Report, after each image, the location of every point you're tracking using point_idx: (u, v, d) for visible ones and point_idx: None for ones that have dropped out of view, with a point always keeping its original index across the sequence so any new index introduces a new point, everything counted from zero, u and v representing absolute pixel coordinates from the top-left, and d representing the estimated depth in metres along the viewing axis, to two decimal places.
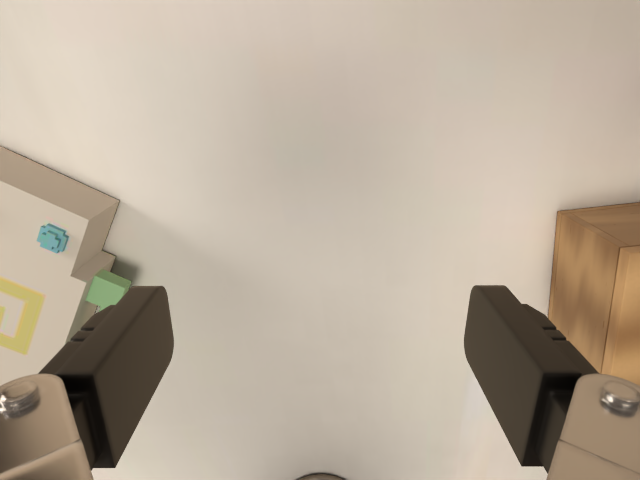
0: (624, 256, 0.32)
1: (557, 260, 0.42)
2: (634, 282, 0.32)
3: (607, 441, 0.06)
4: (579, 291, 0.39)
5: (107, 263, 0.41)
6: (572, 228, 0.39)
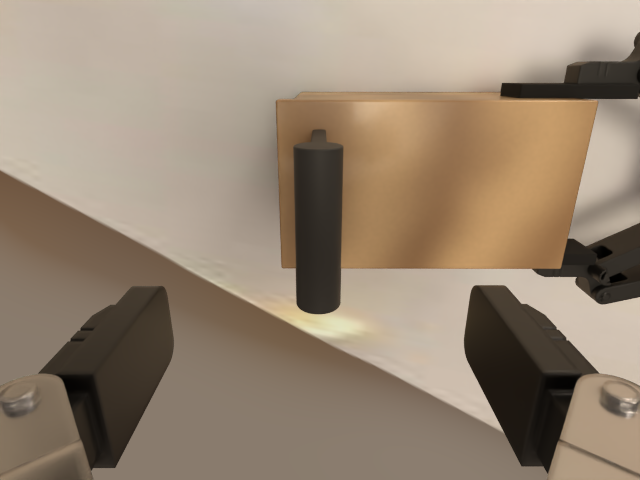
0: (584, 99, 0.22)
1: (449, 92, 0.30)
2: (547, 114, 0.22)
3: (607, 441, 0.06)
4: (448, 95, 0.27)
5: None
6: None
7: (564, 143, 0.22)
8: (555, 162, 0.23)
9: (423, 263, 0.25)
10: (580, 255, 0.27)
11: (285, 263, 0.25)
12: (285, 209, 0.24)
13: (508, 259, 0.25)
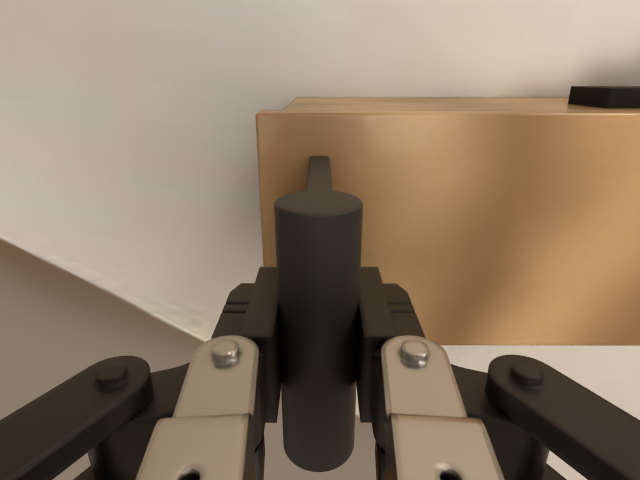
0: None
1: (489, 98, 0.23)
2: None
3: (419, 396, 0.07)
4: (495, 102, 0.20)
5: None
6: None
7: None
8: None
9: (465, 338, 0.18)
10: None
11: None
12: None
13: (584, 333, 0.18)
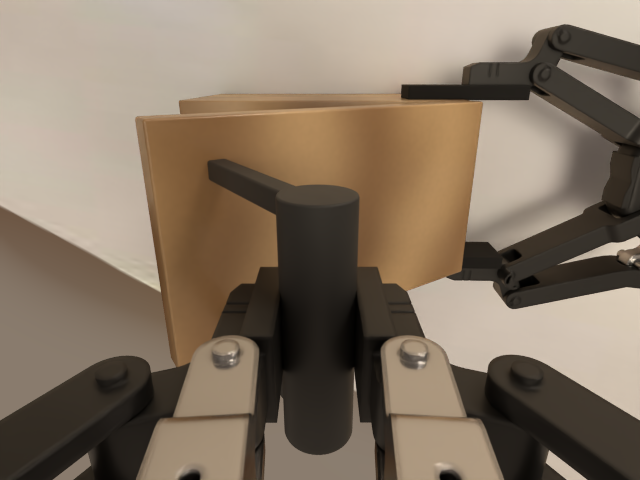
0: (469, 101, 0.21)
1: (366, 94, 0.30)
2: (449, 118, 0.20)
3: (418, 396, 0.07)
4: None
5: None
6: None
7: (461, 147, 0.21)
8: (455, 167, 0.22)
9: None
10: (485, 259, 0.27)
11: (184, 364, 0.16)
12: (176, 287, 0.15)
13: (424, 275, 0.23)
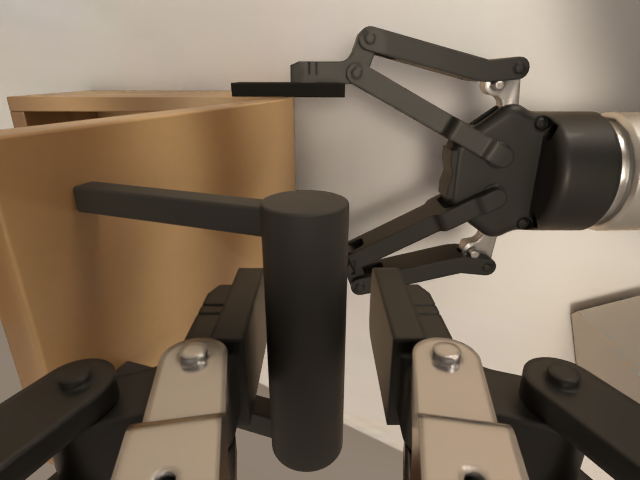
0: (281, 98, 0.23)
1: (227, 91, 0.32)
2: (274, 115, 0.21)
3: (448, 398, 0.07)
4: (195, 93, 0.28)
5: None
6: None
7: (284, 142, 0.23)
8: (283, 161, 0.23)
9: None
10: None
11: None
12: (56, 362, 0.11)
13: None
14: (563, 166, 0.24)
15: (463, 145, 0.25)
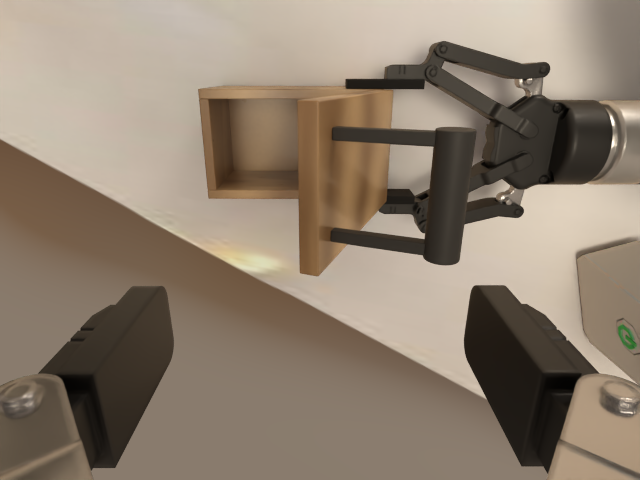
0: None
1: (325, 86, 0.43)
2: (386, 100, 0.33)
3: (607, 441, 0.06)
4: None
5: None
6: None
7: (388, 118, 0.34)
8: None
9: (360, 225, 0.31)
10: (403, 197, 0.40)
11: (319, 270, 0.24)
12: (320, 214, 0.23)
13: (378, 204, 0.35)
14: (573, 135, 0.36)
15: (503, 122, 0.37)
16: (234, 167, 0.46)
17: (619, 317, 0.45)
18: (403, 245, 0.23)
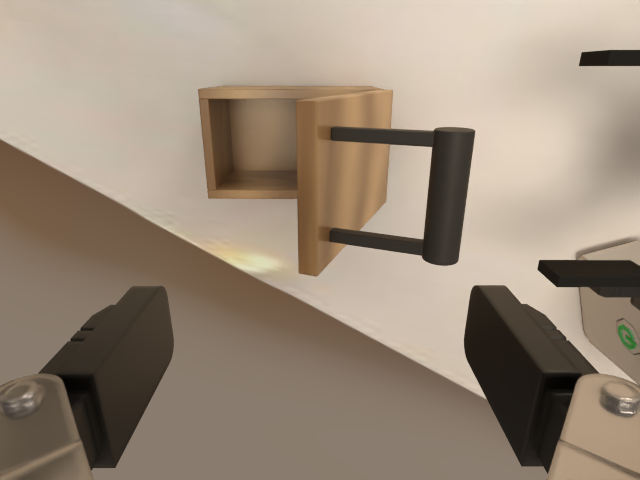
0: None
1: (325, 86, 0.43)
2: (385, 100, 0.33)
3: (607, 441, 0.06)
4: None
5: None
6: None
7: (387, 119, 0.34)
8: None
9: (360, 225, 0.31)
10: None
11: (318, 270, 0.24)
12: (319, 214, 0.23)
13: (377, 204, 0.35)
14: None
15: None
16: (234, 167, 0.46)
17: (619, 317, 0.45)
18: (402, 245, 0.23)
